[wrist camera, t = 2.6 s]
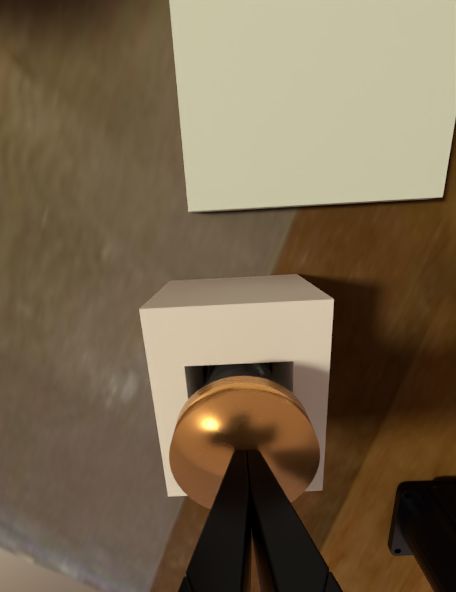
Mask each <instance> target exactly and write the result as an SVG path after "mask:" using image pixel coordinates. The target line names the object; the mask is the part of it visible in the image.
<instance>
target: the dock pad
mask: <svg viewBox="0 0 456 592" xmlns="http://www.w3.org/2000/svg"><path fill="white" fill-rule="evenodd" d="M169 2H170V14H171V25H172V36H173V47H174V58H175V69H176V80H177V91H178V102H179V113H180V124H181V135H182V146H183V157H184V168H185V179H186V191H187V202H188V212H191V213H195V212H213V211H231V210H248V209H266V208H284V207H301V206H319V205H337V204H355V203H372V202H390V201H408V200H425V199H433V198H440V197H443V193H444V186H445V180H446V174H447V168H448V162H449V156H450V149H451V143H452V137H453V131H454V125H455V119H456V0H169Z"/></svg>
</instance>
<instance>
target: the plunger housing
mask: <svg viewBox="0 0 456 592" xmlns="http://www.w3.org/2000/svg"><path fill="white" fill-rule="evenodd" d="M333 308H334V299H333V298H332V297H330V296H329V295H327V294H326V293H324V292H323V291H321V290H320V289H318V288H317V287H315V286H314V285H312V284H311V283H309V282H308V281H307V280H305V279H304V278H302V277H301V276H299V275H298V274H288V275H269V276H250V277H230V278H211V279H192V280H173V281H169V282H168V283H167V284H166V285H165V286H164V287H163V288H162V289H161V290H159V291H158V292H157V293H156V294H155V295H154V296H153V297H152V298H151V299H150V300H148V301H147V302H146V303H145V304H144V305H143V306H142V307H141V308H140V309H139V312H140V318H141V325H142V331H143V337H144V344H145V350H146V357H147V363H148V370H149V376H150V383H151V389H152V396H153V402H154V408H155V415H156V421H157V428H158V434H159V441H160V447H161V454H162V460H163V467H164V473H165V479H166V486H167V492H168V496H188V495H187V494H186V493H184V492H183V490H182V489H181V488H180V487H179V485H178V484H177V482H176V481H175V479H174V477H173V474H172V472H171V468H170V464H169V449H170V445H171V441H172V437H173V433H174V430H175V426H176V422H177V418H178V415H179V413H180V411H181V409H182V407H183V406H184V404H185V403H186V401H187V400H188V399H189V398H190V397H191V396H192V395H193V394H194V393H195V392H197V391H198V390H199V389H201V388H202V387H204V386H205V381H204V370H203V365H223V364H244V363H266V362H272V377H273V381H274V382H276V383H278V384H279V385H281V386H283V387H285V388H286V389H288V390H289V391H290V392H292V393H293V394H294V395H295V396H296V397H297V398H298V400H299V401H300V402H301V403H302V405H303V407H304V408H305V410H306V412H307V415H308V417H309V420H310V422H311V424H312V427H313V429H314V431H315V434H316V436H317V439H318V442H319V447H320V462H319V467H318V470H317V473H316V475H315V477H314V479H313V481H312V482H311V484H310V485H309V487H308V488H307V489H306V490H305V491H322V488H323V472H324V456H325V439H326V423H327V407H328V390H329V374H330V357H331V341H332V325H333Z"/></svg>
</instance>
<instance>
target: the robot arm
mask: <svg viewBox="0 0 456 592" xmlns="http://www.w3.org/2000/svg"><path fill="white" fill-rule="evenodd" d="M251 529H252V535H251ZM252 539H253V547H254V553H255V559H256V565H257V572H258V578H259V584H260V590H261V592H343V591H342V589H341V587H340V586H339V584H338V582H337V581H336V579H335V577H334V576H333V574H332V572H329V567H328V566H327V564H326V562H325V561H324V559H323V557H322V555H321V554H320V552H319V550H318V549H317V547H316V545H315V544H314V542H313V540H312V538H311V537H310V535H309V533H308V532H307V530H306V528H305V527H304V525H303V523H302V521H301V520H300V518H299V516H298V515H297V513H296V511H295V510H294V508H293V506H292V504H291V503H290V501H289V499H288V498H287V496H286V494H285V493H284V491H283V489H282V487H281V486H280V484H279V482H278V481H277V479H276V477H275V476H274V474H273V472H272V470H271V469H270V467H269V465H268V464H267V462H266V460H265V459H264V457H263V455H262V453H261V452H260V451H259V450H249V451H247V452H246V451H234V453H233V454H232V457H231V459H230V462H229V464H228V467H227V470H226V472H225V475H224V477H223V480H222V482H221V485H220V487H219V490H218V492H217V495H216V497H215V500H214V502H213V505H212V507H211V510H210V512H209V515H208V517H207V520H206V523H205V525H204V528H203V530H202V533H201V535H200V538H199V540H198V543H197V545H196V548H195V550H194V553H193V555H192V558H191V560H190V563H189V565H188V568H187V570H186V576H184V578H183V580H182V583H181V585H180V588H179V590H178V592H250V590H251V553H252ZM388 548H389V550H390V552H391V553H392V555H395V556H403V555H414V557H415V559H416V561H417V562H418V564H419V566H420V568H421V569H422V571H423V573H424V575H425V577H426V578H427V580H428V582H429V584H430V585H431V587H432V589H433V591H434V592H456V482H450V483H425V484H404V485H401V486H399V487H398V488H397V491H396V497H395V504H394V510H393V516H392V522H391V528H390V534H389V540H388Z"/></svg>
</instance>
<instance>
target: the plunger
mask: <svg viewBox="0 0 456 592" xmlns="http://www.w3.org/2000/svg"><path fill="white" fill-rule="evenodd" d="M249 450H259V451H260V452H261V453H262V455H263V457H264V459H265V460H266V462H267V464H268V465H269V467H270V469H271V470H272V472H273V474H274V476H275V477H276V479H277V481H278V482H279V484H280V486H281V487H282V489H283V491H284V493H285V494H286V496H287V498H288V499H289V501H290V502H292V501H293V500H295V499H296V498H298V497H299V496H300V495H301V494H302V493H303V492H304V491H305V490H306V489H307V488H308V487H309V485H310V484H311V482H312V481H313V479H314V477H315V475H316V473H317V470H318V467H319V462H320V447H319V442H318V439H317V436H316V434H315V431H314V429H313V427H312V424H311V422H310V420H309V417H308V415H307V412H306V410H305V408H304V407H303V405H302V403H301V402H300V401H299V400H298V398H297V397H296V396H295V395H294V394H293V393H292V392H290V391H289V390H288V389H286V388H285V387H283V386H281V385H279V384H278V383H276V382H274V381H273V377H272V374H271V370H270V367H269V364H268V362H266V363H244V364H223V365H208V367H207V374H206V381H205V386H204V387H202V388H201V389H199V390H198V391H197V392H195V393H194V394H193V395H192V396H191V397H190V398H189V399H188V400H187V401H186V403H185V404H184V406H183V407H182V409H181V411H180V413H179V415H178V418H177V422H176V426H175V430H174V433H173V437H172V441H171V445H170V449H169V464H170V468H171V472H172V474H173V477H174V479H175V481H176V482H177V484H178V485H179V487H180V488H181V489H182V490H183V492H184V493H186V494H187V495H188V496H189V497H190V498H191V499H193V500H194V501H195V502H197V503H199V504H200V505H202V506H204V507H206V508H208V509H211V507H212V505H213V502H214V500H215V497H216V495H217V492H218V490H219V487H220V485H221V482H222V480H223V477H224V475H225V472H226V470H227V467H228V464H229V462H230V459H231V457H232V454H233V453H234V451H246V452H247V451H249Z"/></svg>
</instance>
